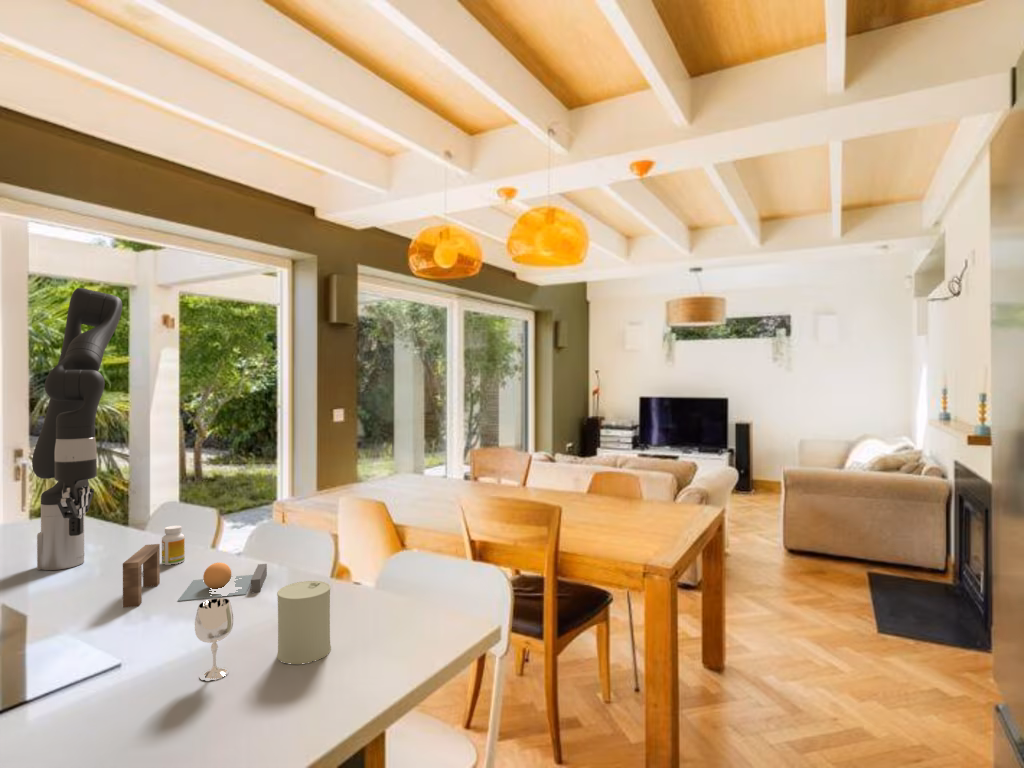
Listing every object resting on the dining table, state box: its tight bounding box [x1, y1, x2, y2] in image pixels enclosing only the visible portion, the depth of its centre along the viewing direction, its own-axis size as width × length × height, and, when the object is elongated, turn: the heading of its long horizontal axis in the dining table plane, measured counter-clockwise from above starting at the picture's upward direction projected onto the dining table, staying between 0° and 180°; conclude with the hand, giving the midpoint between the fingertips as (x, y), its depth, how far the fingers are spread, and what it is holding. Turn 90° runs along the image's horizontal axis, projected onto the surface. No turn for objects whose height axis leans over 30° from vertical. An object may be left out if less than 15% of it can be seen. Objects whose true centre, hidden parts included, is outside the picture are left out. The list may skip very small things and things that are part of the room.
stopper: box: [250, 563, 268, 594], centre depth 139 cm, size 2×12×3 cm, turn 17°
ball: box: [202, 562, 232, 589], centre depth 136 cm, size 6×6×6 cm
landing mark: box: [177, 574, 253, 602], centre depth 136 cm, size 14×14×1 cm
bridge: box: [122, 543, 161, 609], centre depth 132 cm, size 3×15×10 cm, turn 17°
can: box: [276, 580, 332, 665], centre depth 103 cm, size 9×9×12 cm
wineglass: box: [194, 597, 234, 679], centre depth 95 cm, size 6×6×12 cm
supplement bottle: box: [161, 525, 186, 566], centre depth 156 cm, size 5×5×10 cm
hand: (76, 534), depth 128 cm, fingers closed
